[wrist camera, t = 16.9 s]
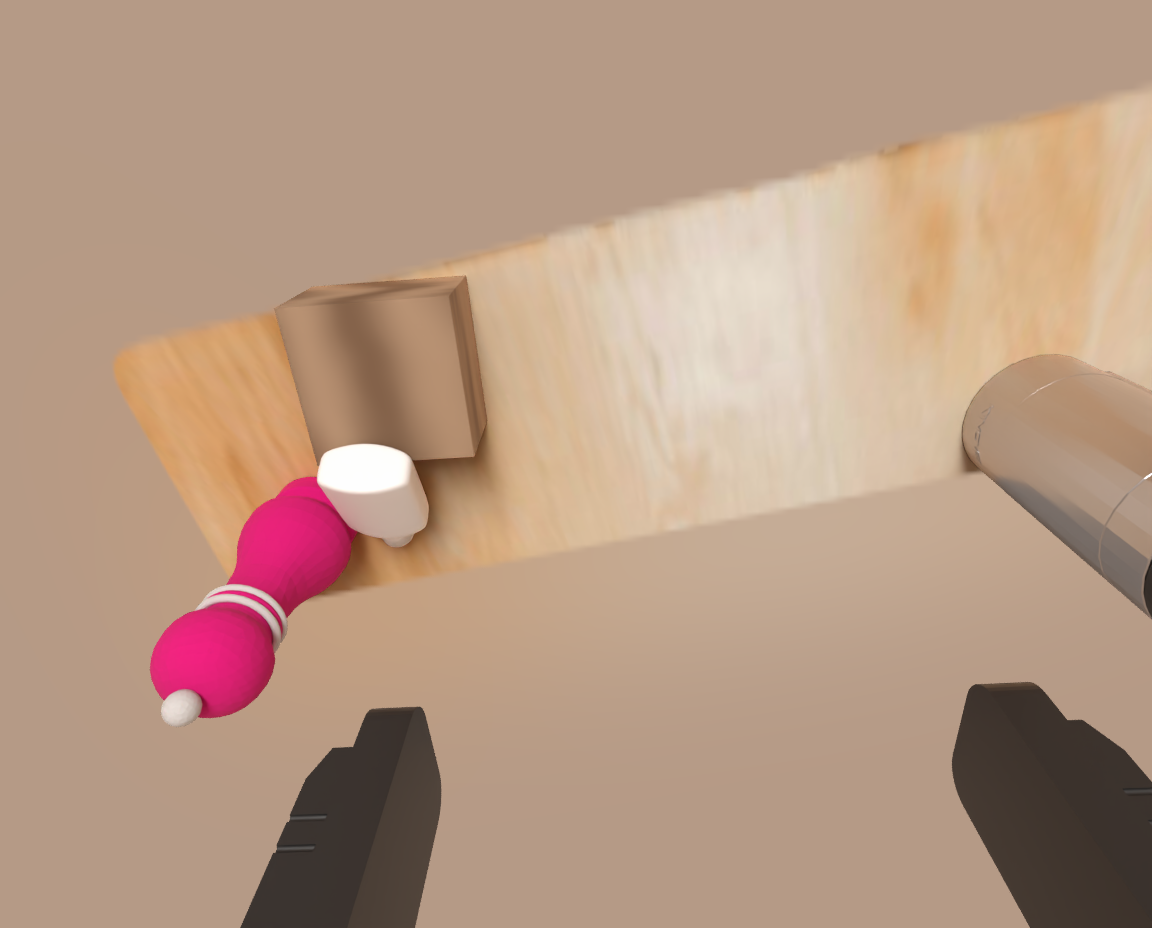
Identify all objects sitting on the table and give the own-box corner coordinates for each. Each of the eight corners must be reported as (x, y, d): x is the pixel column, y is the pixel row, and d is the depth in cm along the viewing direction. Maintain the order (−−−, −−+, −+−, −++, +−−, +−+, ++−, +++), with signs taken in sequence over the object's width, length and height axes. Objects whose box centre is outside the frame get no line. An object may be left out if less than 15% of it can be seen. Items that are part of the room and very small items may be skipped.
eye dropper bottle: (393, 420, 42) (425, 500, 53) (305, 457, 41) (356, 531, 51) (420, 476, 40) (447, 547, 51) (329, 516, 39) (377, 580, 50)
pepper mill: (376, 551, 52) (263, 771, 34) (284, 553, 52) (125, 774, 35) (357, 467, 49) (223, 663, 31) (260, 471, 49) (72, 667, 31)
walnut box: (466, 274, 43) (448, 295, 38) (487, 419, 47) (474, 456, 42) (313, 286, 43) (274, 308, 38) (348, 428, 48) (317, 466, 42)
